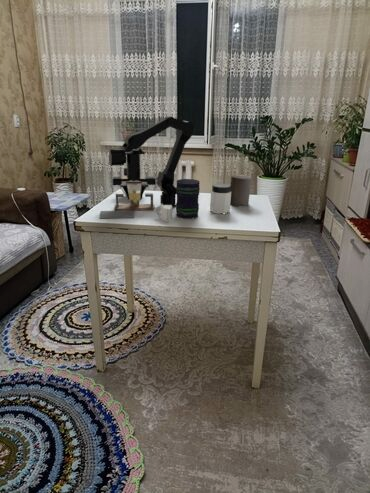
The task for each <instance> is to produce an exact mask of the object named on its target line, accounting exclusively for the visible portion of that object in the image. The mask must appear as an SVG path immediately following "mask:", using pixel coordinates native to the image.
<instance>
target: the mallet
mask: <svg viewBox="0 0 370 493" xmlns="http://www.w3.org/2000/svg"><path fill="white" fill-rule="evenodd" d="M130 200H133V202H137V200H139V201H141V200H142V199H141V198H140V191H136V190H135V189H133V191H129V200H128V201H130Z"/></svg>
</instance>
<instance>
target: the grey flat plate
mask: <svg viewBox="0 0 370 493" xmlns="http://www.w3.org/2000/svg"><path fill="white" fill-rule="evenodd" d="M98 219H99V220H100V219H101V220H105V219H107V220H108V219H113V220H114V219H134V211H133V210H126V211H115V210H101V211H100V212H99V218H98Z"/></svg>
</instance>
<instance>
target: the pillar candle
mask: <svg viewBox="0 0 370 493" xmlns="http://www.w3.org/2000/svg"><path fill="white" fill-rule="evenodd" d="M251 183H252V176H251V175H247V174H242V173H240V174H231V178H230V186H231V190H230V192H231V201H230V206H232V205H233V207H239V206H243V207H248V206H249V202H250V195H251V194H250V193H251V185H252V184H251Z"/></svg>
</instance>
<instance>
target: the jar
mask: <svg viewBox="0 0 370 493" xmlns="http://www.w3.org/2000/svg"><path fill="white" fill-rule="evenodd" d="M230 190H231V184H226V183H213V184H212V186H211V191H210V204H209V205H210V207H209V212H211V211H212V212H211V213H213V214H215V213H226V214H228V213H230V210H231V205H230V201H231V192H230ZM227 212H228V213H227Z"/></svg>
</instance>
